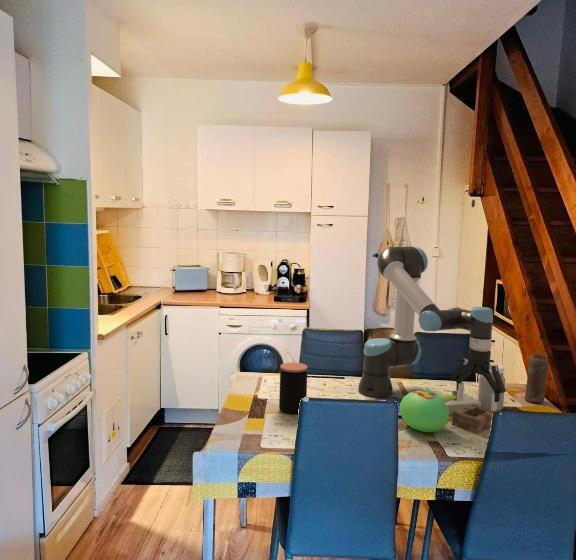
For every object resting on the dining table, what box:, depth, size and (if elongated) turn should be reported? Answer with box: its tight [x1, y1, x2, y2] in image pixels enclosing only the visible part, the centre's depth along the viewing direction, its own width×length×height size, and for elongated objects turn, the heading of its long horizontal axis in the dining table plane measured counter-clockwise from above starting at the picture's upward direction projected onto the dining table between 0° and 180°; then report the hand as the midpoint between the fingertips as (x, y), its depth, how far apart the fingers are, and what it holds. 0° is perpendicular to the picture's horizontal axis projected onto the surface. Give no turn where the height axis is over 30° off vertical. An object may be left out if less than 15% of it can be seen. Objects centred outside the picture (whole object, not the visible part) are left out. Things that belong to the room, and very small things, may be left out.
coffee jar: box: [278, 362, 308, 416], centre depth 196 cm, size 11×11×18 cm
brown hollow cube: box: [451, 404, 494, 435], centre depth 187 cm, size 14×10×5 cm
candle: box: [524, 353, 549, 404], centre depth 214 cm, size 8×7×20 cm
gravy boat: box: [399, 387, 457, 433], centre depth 181 cm, size 18×17×15 cm
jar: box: [477, 362, 506, 411], centre depth 204 cm, size 10×10×18 cm
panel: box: [446, 390, 481, 416], centre depth 203 cm, size 18×10×8 cm, turn 104°
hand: (476, 404), depth 186 cm, fingers open, 13 cm apart
